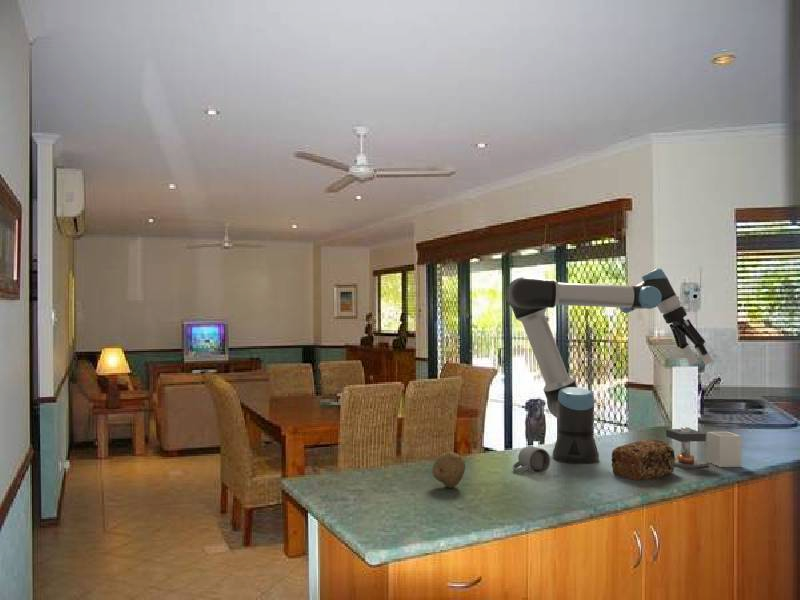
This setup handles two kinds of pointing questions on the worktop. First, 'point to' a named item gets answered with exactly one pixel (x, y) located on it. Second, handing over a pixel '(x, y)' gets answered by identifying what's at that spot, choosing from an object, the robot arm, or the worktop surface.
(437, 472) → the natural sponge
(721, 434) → the sleeve
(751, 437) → the worktop surface
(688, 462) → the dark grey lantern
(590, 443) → the robot arm
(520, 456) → the ceramic mug
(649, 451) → the bread
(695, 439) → the dark grey square slab
